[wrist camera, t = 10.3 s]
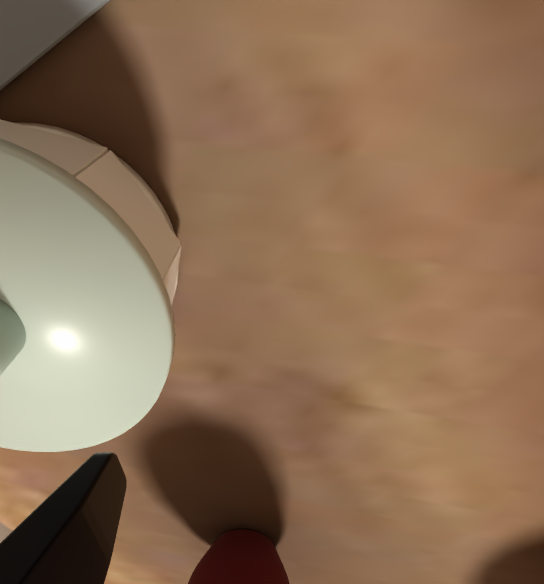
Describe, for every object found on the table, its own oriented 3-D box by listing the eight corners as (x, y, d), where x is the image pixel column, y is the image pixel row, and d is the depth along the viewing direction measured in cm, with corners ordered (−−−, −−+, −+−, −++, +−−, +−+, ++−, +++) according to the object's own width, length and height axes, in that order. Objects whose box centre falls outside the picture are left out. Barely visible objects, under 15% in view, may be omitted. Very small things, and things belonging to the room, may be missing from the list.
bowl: (58, 64, 17) (-26, 86, 13) (227, 291, 22) (207, 363, 17) (-120, 205, 21) (-231, 259, 16) (58, 374, 25) (7, 450, 21)
